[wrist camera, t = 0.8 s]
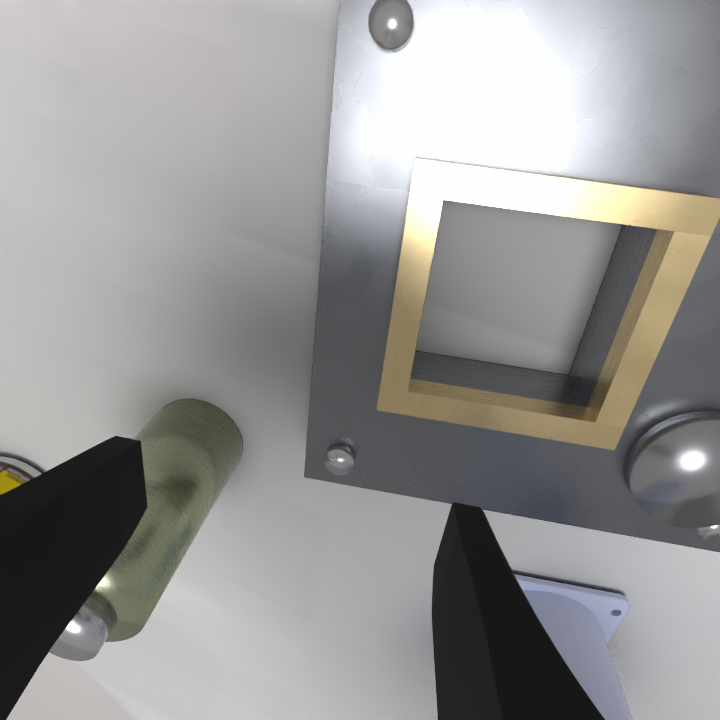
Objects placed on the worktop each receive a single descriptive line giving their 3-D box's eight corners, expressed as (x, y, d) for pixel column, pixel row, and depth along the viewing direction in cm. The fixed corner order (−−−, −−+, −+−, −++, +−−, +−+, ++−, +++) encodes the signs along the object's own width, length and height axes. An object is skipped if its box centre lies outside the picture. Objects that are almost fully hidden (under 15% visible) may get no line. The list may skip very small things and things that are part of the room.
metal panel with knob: (699, 510, 21) (745, 574, 18) (316, 443, 23) (298, 492, 20) (980, 43, 13) (1148, 17, 10) (356, -23, 14) (337, -65, 11)
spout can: (243, 481, 24) (132, 690, 15) (159, 465, 25) (1, 662, 16) (242, 405, 22) (114, 596, 13) (150, 389, 23) (-38, 566, 14)
